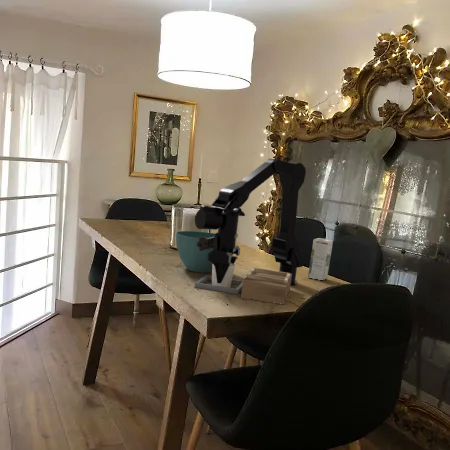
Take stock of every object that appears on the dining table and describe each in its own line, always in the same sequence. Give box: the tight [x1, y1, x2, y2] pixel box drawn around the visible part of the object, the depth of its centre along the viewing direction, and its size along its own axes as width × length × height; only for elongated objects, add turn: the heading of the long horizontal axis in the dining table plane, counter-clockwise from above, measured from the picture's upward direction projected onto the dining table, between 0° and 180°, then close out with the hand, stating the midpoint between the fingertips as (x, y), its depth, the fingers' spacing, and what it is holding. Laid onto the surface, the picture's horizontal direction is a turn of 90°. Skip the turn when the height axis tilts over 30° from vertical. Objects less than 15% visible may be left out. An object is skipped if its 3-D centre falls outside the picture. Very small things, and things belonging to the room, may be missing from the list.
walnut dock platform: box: [240, 267, 292, 305], centre depth 143 cm, size 20×12×6 cm, turn 167°
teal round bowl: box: [175, 230, 216, 274], centre depth 166 cm, size 18×18×12 cm
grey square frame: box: [194, 274, 243, 295], centre depth 147 cm, size 13×13×1 cm
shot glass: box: [211, 263, 236, 288], centre depth 146 cm, size 7×7×7 cm
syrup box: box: [307, 237, 334, 281], centre depth 174 cm, size 6×6×14 cm
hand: (221, 281), depth 146 cm, fingers closed on shot glass, 6 cm apart
